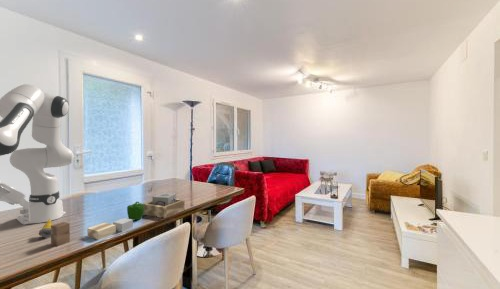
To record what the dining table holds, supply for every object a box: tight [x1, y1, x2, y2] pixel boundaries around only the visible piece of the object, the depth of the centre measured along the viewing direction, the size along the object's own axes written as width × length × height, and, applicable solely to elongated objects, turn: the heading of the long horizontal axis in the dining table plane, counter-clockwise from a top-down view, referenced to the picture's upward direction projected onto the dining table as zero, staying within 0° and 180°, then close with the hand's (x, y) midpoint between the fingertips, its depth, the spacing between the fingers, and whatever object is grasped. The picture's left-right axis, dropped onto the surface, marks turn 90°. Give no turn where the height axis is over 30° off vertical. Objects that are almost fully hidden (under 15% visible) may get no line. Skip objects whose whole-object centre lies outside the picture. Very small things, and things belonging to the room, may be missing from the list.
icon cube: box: [151, 192, 177, 206], centre depth 137 cm, size 10×10×10 cm
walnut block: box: [50, 221, 71, 247], centre depth 95 cm, size 4×4×8 cm
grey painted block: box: [112, 217, 134, 233], centre depth 111 cm, size 6×6×4 cm
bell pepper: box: [126, 201, 144, 221], centre depth 123 cm, size 8×8×10 cm
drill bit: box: [38, 219, 53, 240], centre depth 101 cm, size 5×5×10 cm
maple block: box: [86, 222, 117, 241], centre depth 103 cm, size 8×8×4 cm
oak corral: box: [141, 198, 186, 219], centre depth 136 cm, size 17×17×6 cm
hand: (21, 204), depth 83 cm, fingers open, 8 cm apart
